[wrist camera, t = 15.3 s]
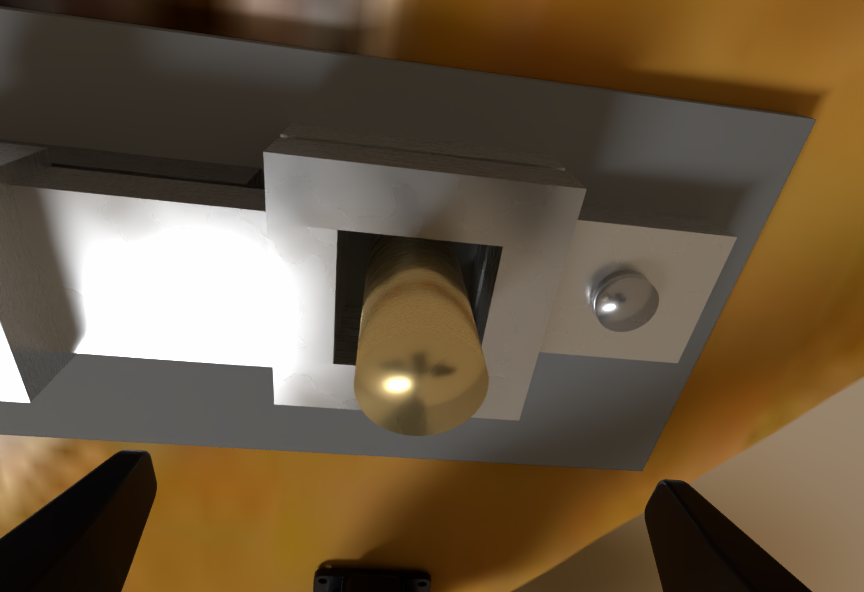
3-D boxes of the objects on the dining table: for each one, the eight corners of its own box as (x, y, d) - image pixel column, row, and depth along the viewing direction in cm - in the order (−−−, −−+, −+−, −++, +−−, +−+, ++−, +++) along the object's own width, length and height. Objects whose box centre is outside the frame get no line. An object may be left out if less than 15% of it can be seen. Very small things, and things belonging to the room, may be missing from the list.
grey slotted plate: (645, 367, 20) (670, 405, 18) (-48, 313, 18) (-104, 350, 16) (729, 175, 16) (771, 197, 14) (-152, 68, 14) (-244, 78, 12)
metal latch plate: (510, 388, 18) (529, 458, 15) (5, 352, 16) (-78, 422, 13) (569, 170, 14) (608, 211, 11) (-93, 93, 12) (-240, 117, 9)
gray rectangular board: (635, 457, 24) (642, 471, 23) (-34, 417, 21) (-49, 431, 20) (799, 114, 16) (816, 119, 15) (-241, -27, 13) (-277, -29, 12)
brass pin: (454, 291, 18) (486, 432, 12) (371, 294, 18) (359, 439, 12) (456, 212, 16) (492, 326, 10) (365, 215, 16) (347, 332, 10)
